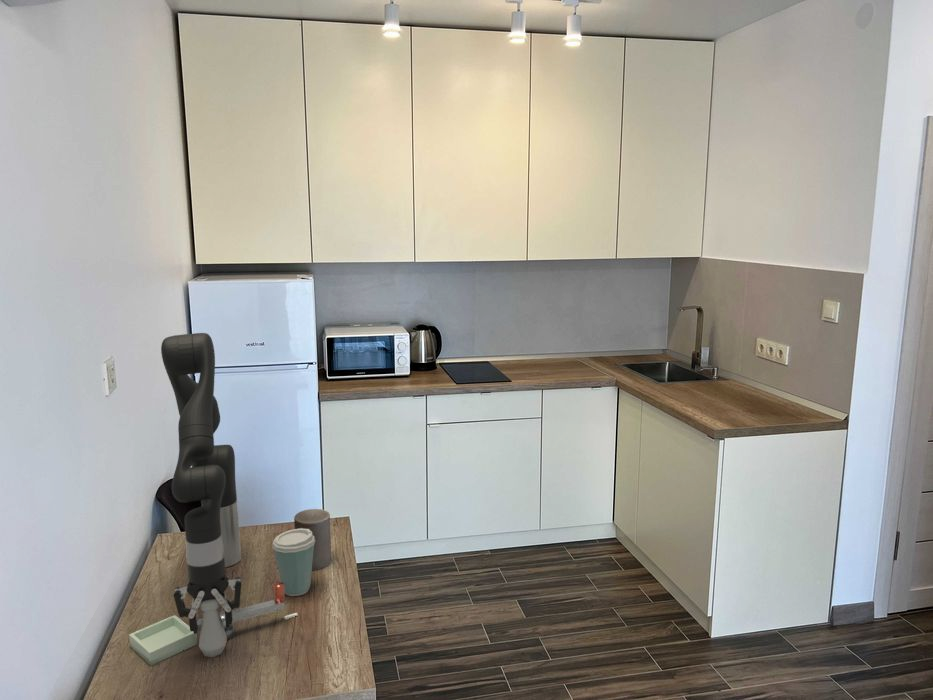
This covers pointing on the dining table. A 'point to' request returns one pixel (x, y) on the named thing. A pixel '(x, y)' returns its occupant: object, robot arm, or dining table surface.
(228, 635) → the crank base
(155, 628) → the tray
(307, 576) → the disposable coffee cup
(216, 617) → the salt shaker
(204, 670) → the dining table surface
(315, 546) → the pillar candle
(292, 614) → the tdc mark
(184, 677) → the dining table surface
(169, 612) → the dining table surface
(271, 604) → the crank
